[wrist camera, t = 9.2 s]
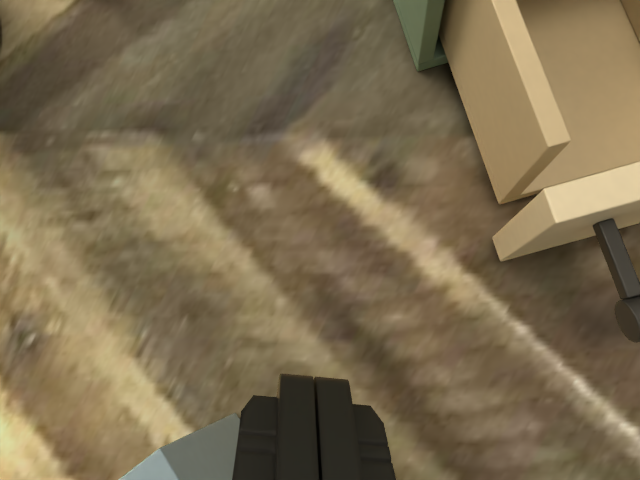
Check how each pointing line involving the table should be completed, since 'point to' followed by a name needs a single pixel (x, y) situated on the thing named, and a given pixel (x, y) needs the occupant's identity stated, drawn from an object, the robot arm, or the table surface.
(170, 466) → the tall grey-blue block
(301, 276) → the table surface
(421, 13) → the cabinet
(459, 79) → the drawer
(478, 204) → the table surface
